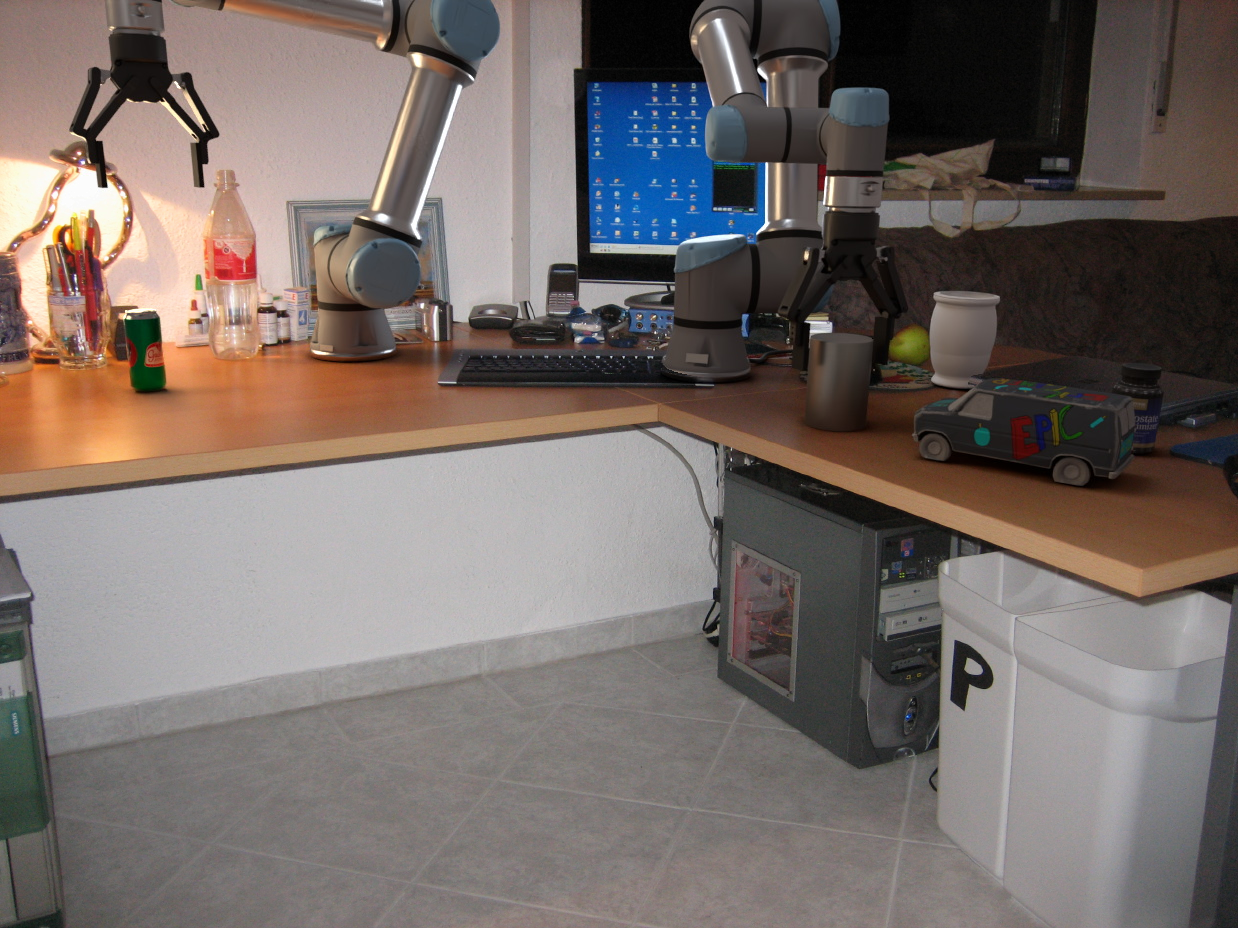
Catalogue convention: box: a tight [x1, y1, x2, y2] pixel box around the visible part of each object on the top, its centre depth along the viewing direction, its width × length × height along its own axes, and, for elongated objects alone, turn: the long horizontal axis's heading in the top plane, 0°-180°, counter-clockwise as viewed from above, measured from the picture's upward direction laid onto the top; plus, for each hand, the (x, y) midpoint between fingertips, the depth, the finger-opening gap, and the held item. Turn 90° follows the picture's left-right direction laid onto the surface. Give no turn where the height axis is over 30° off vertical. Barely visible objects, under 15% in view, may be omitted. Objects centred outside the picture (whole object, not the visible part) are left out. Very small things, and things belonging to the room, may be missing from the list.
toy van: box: [911, 377, 1136, 487], centre depth 131 cm, size 11×25×10 cm, turn 54°
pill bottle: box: [1111, 362, 1165, 455], centre depth 139 cm, size 6×6×11 cm
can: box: [803, 332, 873, 433], centre depth 150 cm, size 9×9×12 cm
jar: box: [929, 290, 1001, 390], centre depth 176 cm, size 11×10×15 cm
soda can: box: [123, 308, 168, 392], centre depth 162 cm, size 5×5×12 cm
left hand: (152, 188), depth 158 cm, fingers open, 13 cm apart
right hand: (840, 366), depth 149 cm, fingers open, 13 cm apart
